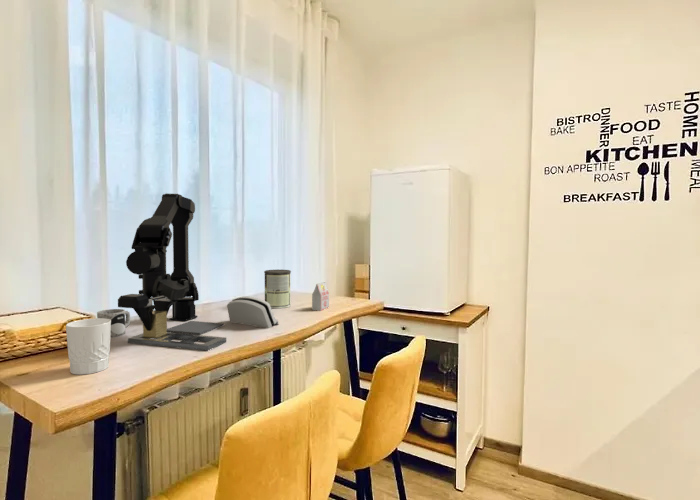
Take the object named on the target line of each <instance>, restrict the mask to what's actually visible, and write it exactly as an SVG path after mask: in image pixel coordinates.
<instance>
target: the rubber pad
mask: <svg viewBox="0 0 700 500" xmlns="http://www.w3.org/2000/svg"><path fill="white" fill-rule="evenodd" d="M223 326H225V323H224V322H223V323H222V322H211V321H210V322H209V321H198V320H197V321H196V320H190V321H189V320H188V321H186V322H183V323H180V324H178V325H174V326H172V327H171V326H170V327H167V332H169V333H180V334H192V335H204V334H206V333H208V332H211V331H213V330H216V329H218V328H221V327H223Z"/></svg>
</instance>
